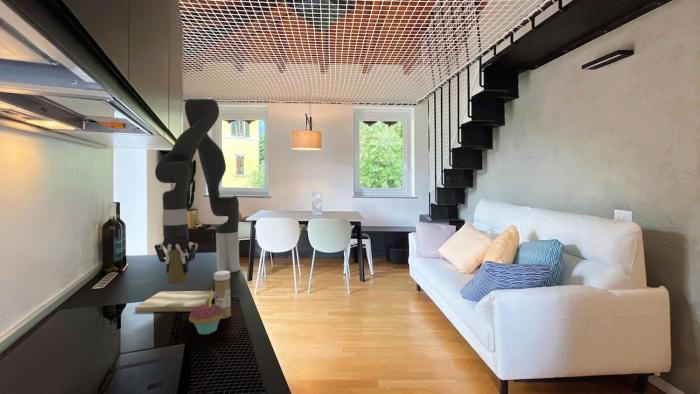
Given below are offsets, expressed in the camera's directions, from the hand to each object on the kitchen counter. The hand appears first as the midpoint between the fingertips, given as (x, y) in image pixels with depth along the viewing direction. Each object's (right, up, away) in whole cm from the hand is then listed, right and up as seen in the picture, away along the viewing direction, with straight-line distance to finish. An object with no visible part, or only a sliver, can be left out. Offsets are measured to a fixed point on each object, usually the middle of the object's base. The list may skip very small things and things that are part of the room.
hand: (177, 274), depth 121 cm
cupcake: (+18, -11, -21) cm, 30 cm away
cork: (0, -2, 0) cm, 2 cm away
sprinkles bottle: (+19, -10, -11) cm, 25 cm away
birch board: (0, -10, +1) cm, 10 cm away
